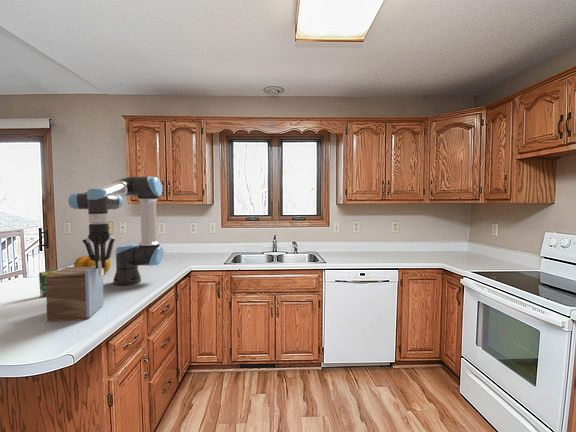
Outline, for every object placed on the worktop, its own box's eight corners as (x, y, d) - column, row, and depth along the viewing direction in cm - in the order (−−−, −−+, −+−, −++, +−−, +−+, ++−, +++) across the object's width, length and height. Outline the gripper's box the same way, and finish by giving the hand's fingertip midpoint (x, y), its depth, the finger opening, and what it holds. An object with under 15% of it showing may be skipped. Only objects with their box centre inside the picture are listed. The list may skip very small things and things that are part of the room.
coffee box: (42, 298, 154) (41, 272, 153) (39, 297, 155) (38, 272, 155) (60, 294, 161) (59, 269, 160) (57, 293, 162) (56, 269, 162)
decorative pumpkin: (65, 277, 196) (65, 254, 196) (96, 269, 217) (96, 249, 217) (88, 279, 190) (87, 256, 189) (118, 272, 211) (117, 251, 210)
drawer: (70, 306, 141) (69, 264, 140) (103, 304, 144) (102, 262, 143) (51, 320, 124) (50, 272, 123) (89, 317, 128) (88, 270, 127)
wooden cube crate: (66, 307, 140) (65, 267, 139) (100, 305, 144) (99, 266, 143) (47, 321, 124) (45, 276, 123) (85, 318, 127) (84, 274, 126)
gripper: (78, 224, 129) (81, 278, 130) (111, 223, 132) (114, 276, 133) (85, 223, 136) (88, 274, 138) (117, 222, 140) (119, 272, 141)
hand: (101, 275), depth 136 cm, fingers closed
